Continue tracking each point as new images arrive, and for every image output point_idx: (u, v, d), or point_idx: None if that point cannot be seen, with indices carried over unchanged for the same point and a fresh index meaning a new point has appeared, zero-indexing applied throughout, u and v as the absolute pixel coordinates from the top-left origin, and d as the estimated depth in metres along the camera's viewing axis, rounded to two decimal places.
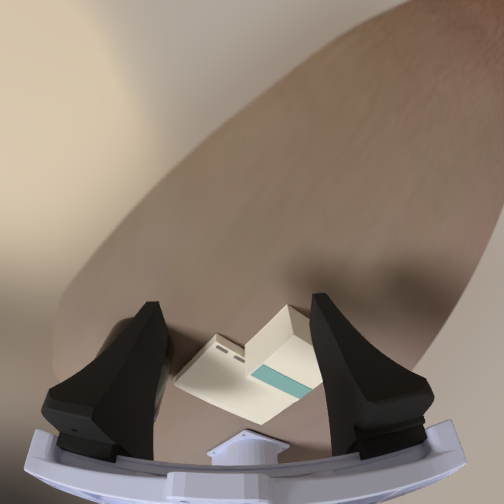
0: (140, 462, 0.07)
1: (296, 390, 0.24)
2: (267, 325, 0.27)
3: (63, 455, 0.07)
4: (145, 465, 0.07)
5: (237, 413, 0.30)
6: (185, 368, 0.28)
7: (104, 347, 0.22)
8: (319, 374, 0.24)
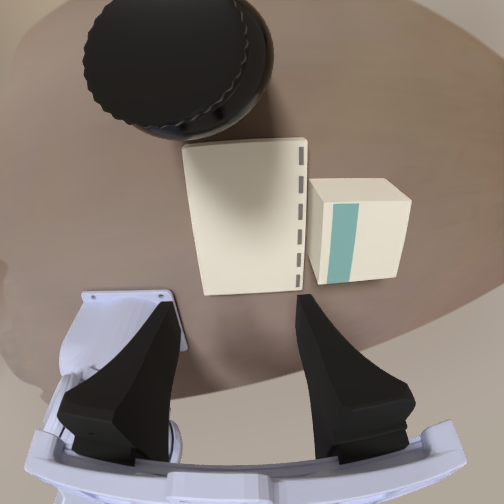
0: (140, 462, 0.07)
1: (340, 268, 0.19)
2: (353, 179, 0.20)
3: (63, 455, 0.07)
4: (145, 465, 0.07)
5: (201, 256, 0.22)
6: (221, 142, 0.18)
7: None
8: (373, 268, 0.20)
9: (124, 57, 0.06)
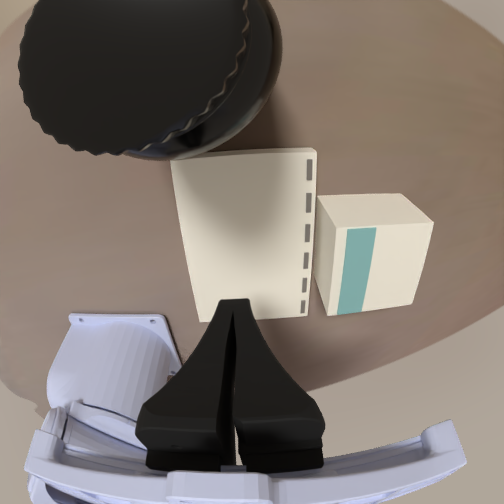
0: (140, 462, 0.07)
1: (352, 298, 0.17)
2: (367, 195, 0.18)
3: (63, 455, 0.07)
4: (145, 465, 0.07)
5: (195, 281, 0.20)
6: (216, 153, 0.16)
7: None
8: (388, 296, 0.17)
9: (67, 53, 0.04)
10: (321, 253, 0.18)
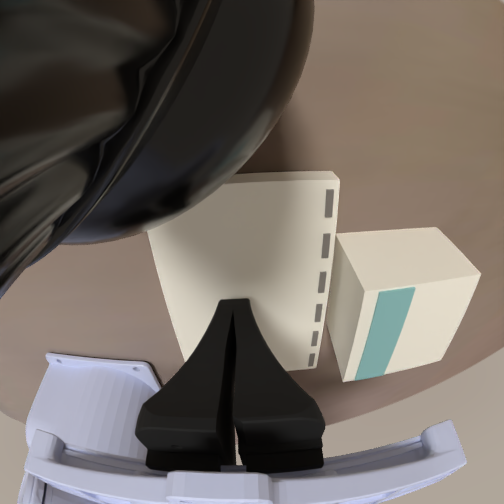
0: (140, 462, 0.07)
1: (374, 364, 0.13)
2: (398, 232, 0.14)
3: (63, 455, 0.07)
4: (145, 465, 0.07)
5: (181, 335, 0.16)
6: None
7: None
8: (416, 356, 0.13)
9: None
10: (338, 307, 0.14)
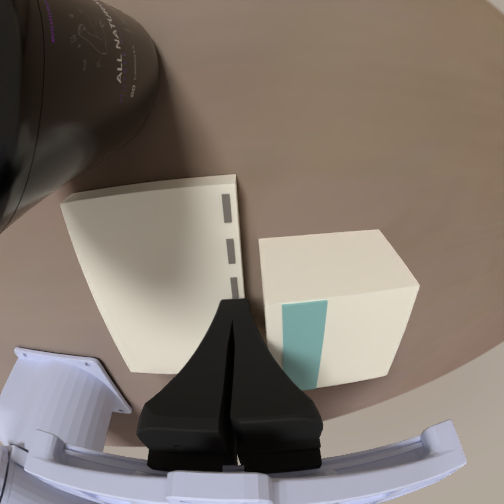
0: (140, 462, 0.07)
1: (300, 377, 0.13)
2: (330, 237, 0.14)
3: (63, 455, 0.07)
4: (145, 465, 0.07)
5: (115, 334, 0.16)
6: (110, 191, 0.12)
7: None
8: (353, 371, 0.13)
9: None
10: None
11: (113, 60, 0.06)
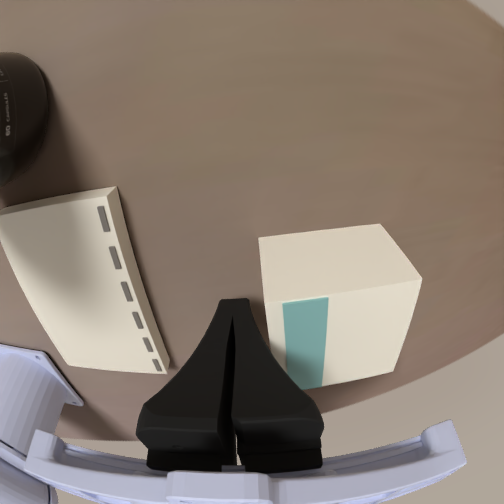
0: (140, 462, 0.07)
1: (305, 376, 0.12)
2: (330, 233, 0.13)
3: (63, 455, 0.07)
4: (145, 465, 0.07)
5: (47, 329, 0.16)
6: (25, 206, 0.12)
7: None
8: (358, 368, 0.13)
9: None
10: None
11: None
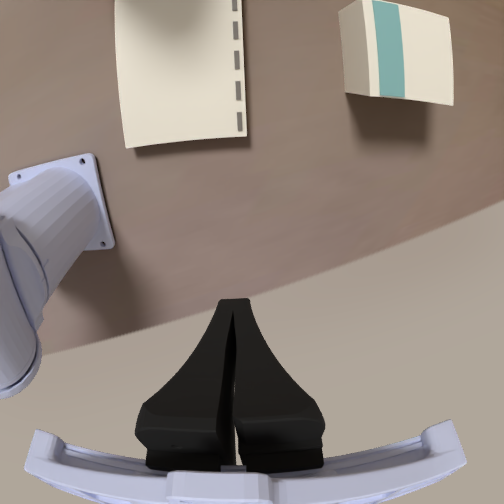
0: (140, 462, 0.07)
1: (392, 75, 0.13)
2: None
3: (63, 455, 0.07)
4: (145, 465, 0.07)
5: (123, 93, 0.16)
6: None
7: None
8: (428, 86, 0.13)
9: None
10: (351, 50, 0.14)
11: None
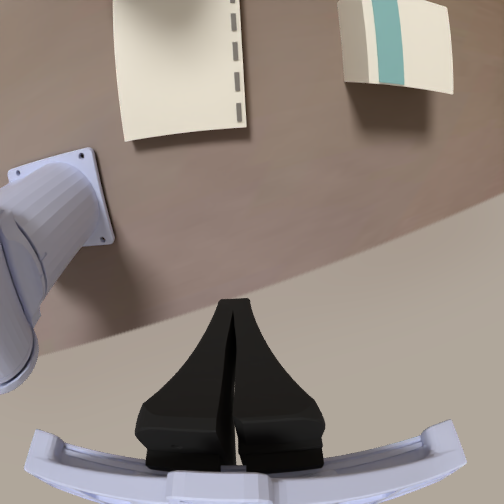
0: (140, 462, 0.07)
1: (391, 63, 0.12)
2: None
3: (63, 455, 0.07)
4: (145, 465, 0.07)
5: (122, 86, 0.15)
6: None
7: None
8: (428, 74, 0.13)
9: None
10: (350, 39, 0.14)
11: None
